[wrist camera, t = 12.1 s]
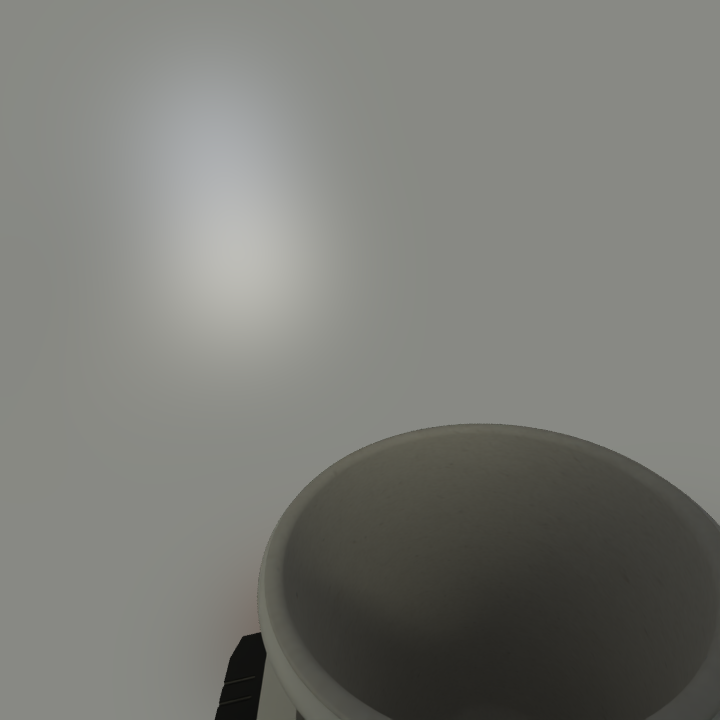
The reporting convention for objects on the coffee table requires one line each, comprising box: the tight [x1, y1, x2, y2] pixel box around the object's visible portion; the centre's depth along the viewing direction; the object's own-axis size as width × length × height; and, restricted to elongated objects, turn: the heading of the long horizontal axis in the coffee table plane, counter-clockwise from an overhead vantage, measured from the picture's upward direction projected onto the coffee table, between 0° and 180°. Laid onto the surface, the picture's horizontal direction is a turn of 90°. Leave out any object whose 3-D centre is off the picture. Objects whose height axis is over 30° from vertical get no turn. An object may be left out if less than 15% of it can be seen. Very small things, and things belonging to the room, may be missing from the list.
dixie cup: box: [257, 424, 720, 720], centre depth 9 cm, size 8×8×10 cm
